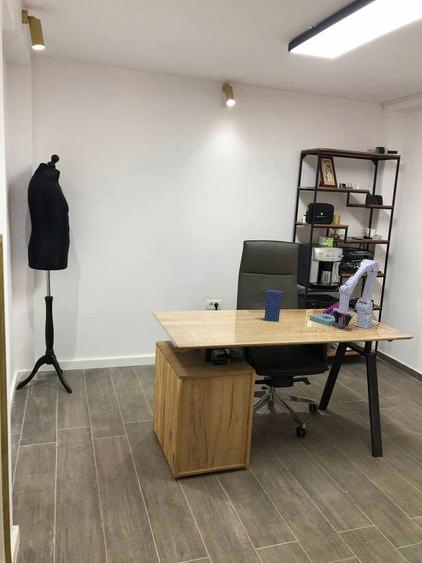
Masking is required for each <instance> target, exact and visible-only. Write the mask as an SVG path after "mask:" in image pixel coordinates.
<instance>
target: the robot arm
mask: <svg viewBox="0 0 422 563" xmlns="http://www.w3.org/2000/svg"><path fill="white" fill-rule="evenodd" d="M379 270H380V263H379V262H378V261H377V260H371V259H366V258H365V259H362V261H361V262H360V266H359V268H358V269H357V271H356V272H355V273H354V275H353V276H350V277H349V278H348V279H347V280H346V282H345V283H344V284H342V285H340V287H339V288H338V292H339V302H340V303H339V309H337V308H333V311H334V312H333V315H334V318H335V323H338V320H339V317H340V313H342V314H346V316H345V327H348V326H349V324H350V322H351V320H352V319H353V318H354V312H351V311H350V310H349V311H348V308H349V304H350V296H351V295H352V294H353V292H354V288H355V287H356V286H357V284H358V283H359V279H360V278H362V276H364V274H365V273H366V274H367V278H366V282H365V285H364V288H363V291H362V296H361V297H360V298H359V299H357V302H356V304H355V310H356V313H357V315H356V321H355V323H353V324H352V325H353V326H356V327H359V328H362V329H369V328H373V326H372V325H373V320H374V319H373V315H372V314H371V313H372V312H373V309H374V308H373V306H374V303H373V302H372V300H371V298H372V294H373V291H374V287H375V283H376V280H377V276H378V273H379Z"/></svg>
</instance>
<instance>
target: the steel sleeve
mask: <svg viewBox="0 0 422 563" xmlns="http://www.w3.org/2000/svg"><path fill="white" fill-rule="evenodd" d="M345 327H346V326H345V317H340V316H339V320H338V325H337V329H339V330H345Z"/></svg>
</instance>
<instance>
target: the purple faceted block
mask: <svg viewBox="0 0 422 563" xmlns="http://www.w3.org/2000/svg"><path fill="white" fill-rule="evenodd" d="M339 303H340V301H337V302H335V303H333V304H332V305H330V306H329V307H327V308H326V309H324V310H323V311H322V314H328V315H332V316H334V315H333V312H334V311H333V308H337V309H339ZM349 308H350V307H348V311H349V312H350V309H349ZM345 316H346V314H342V313H340V316H339V317H345Z"/></svg>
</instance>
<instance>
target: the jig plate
mask: <svg viewBox="0 0 422 563" xmlns="http://www.w3.org/2000/svg"><path fill="white" fill-rule="evenodd" d="M309 321H311V322H314V323H318V324H320V325H324V326H327V327H331V326H336V325H337V326H338V323H335V318H334V316H332V315H328V314H323V313H319V314H314V315H310V316H309Z"/></svg>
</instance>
